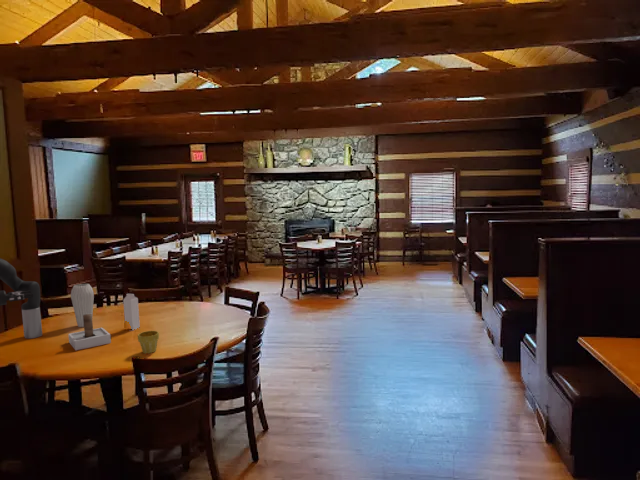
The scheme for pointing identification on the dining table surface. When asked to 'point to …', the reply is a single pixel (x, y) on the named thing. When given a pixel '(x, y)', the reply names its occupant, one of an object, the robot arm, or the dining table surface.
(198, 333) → the dining table surface
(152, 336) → the plant pot
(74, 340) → the tray
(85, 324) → the peg
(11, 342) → the dining table surface
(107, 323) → the dining table surface
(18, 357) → the dining table surface
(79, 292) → the vase
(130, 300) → the milk
